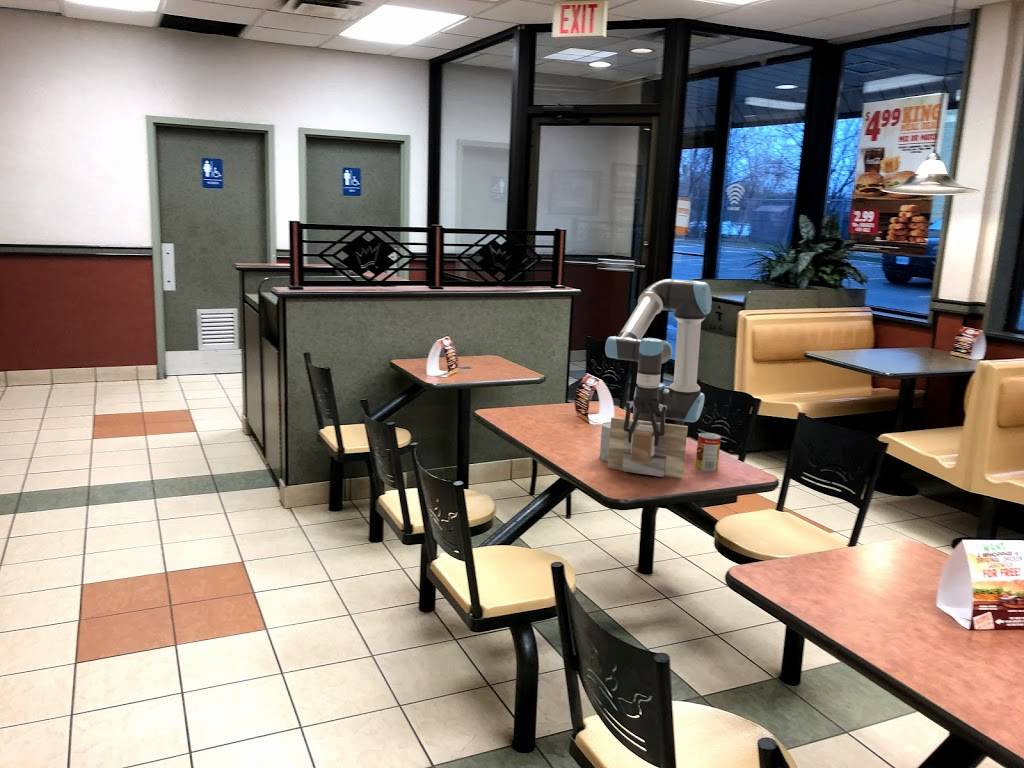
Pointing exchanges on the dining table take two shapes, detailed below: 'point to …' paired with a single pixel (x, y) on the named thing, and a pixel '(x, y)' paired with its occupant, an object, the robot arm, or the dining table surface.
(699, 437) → the canned food
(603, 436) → the grey-green block
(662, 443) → the wall board
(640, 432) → the upright wooden block
